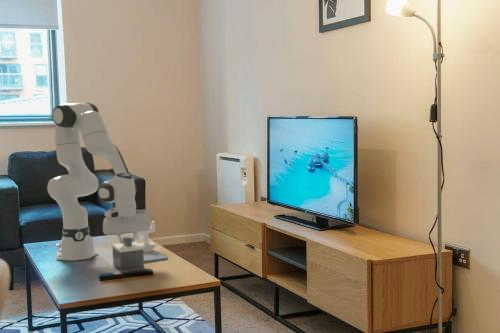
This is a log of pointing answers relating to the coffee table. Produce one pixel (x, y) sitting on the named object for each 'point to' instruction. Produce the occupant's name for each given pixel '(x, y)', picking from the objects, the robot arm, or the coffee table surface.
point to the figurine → (147, 245)
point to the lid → (127, 245)
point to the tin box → (128, 259)
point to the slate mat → (154, 257)
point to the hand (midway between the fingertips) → (127, 242)
